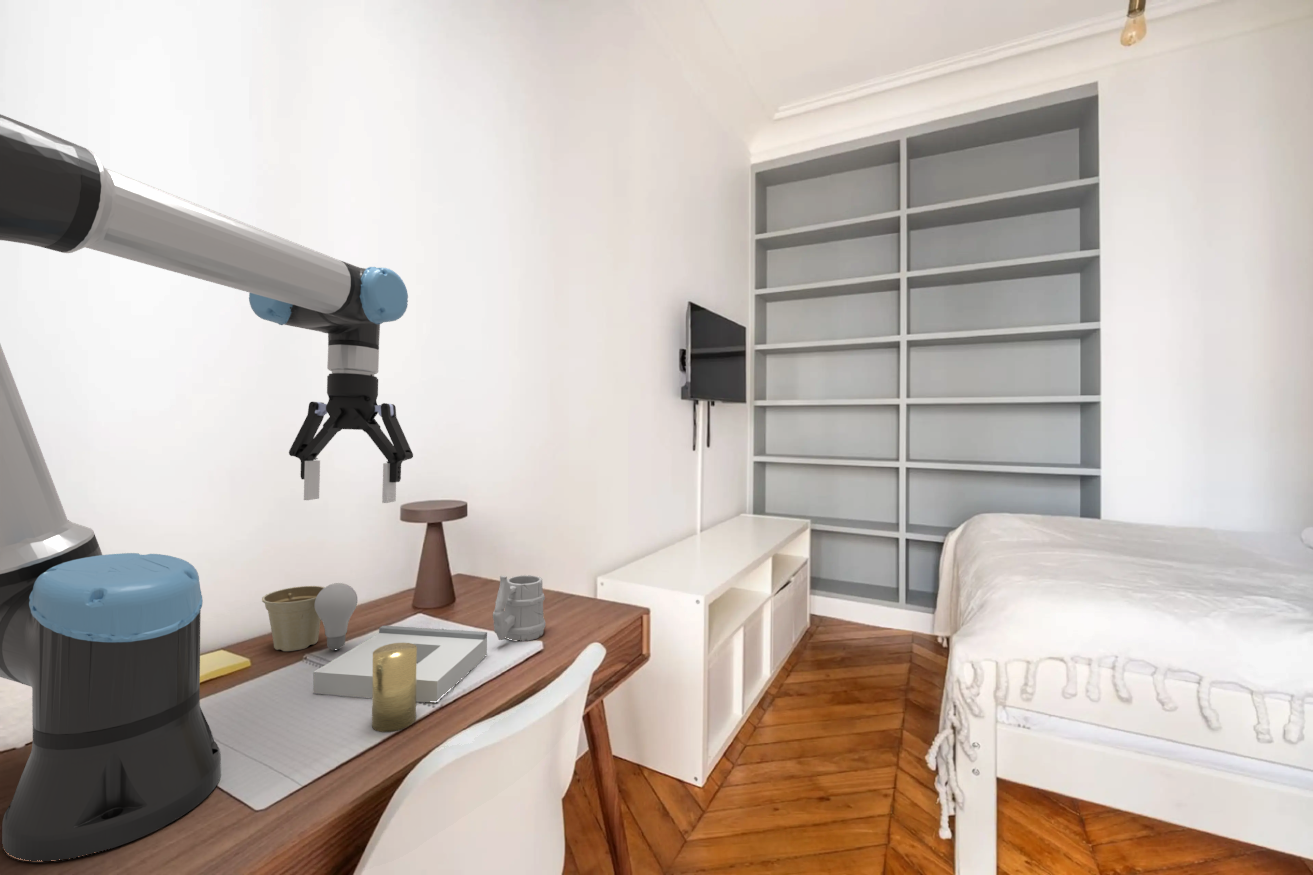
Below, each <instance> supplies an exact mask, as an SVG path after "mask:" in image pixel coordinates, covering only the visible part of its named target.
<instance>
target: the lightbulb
mask: <svg viewBox="0 0 1313 875" xmlns="http://www.w3.org/2000/svg"><path fill="white" fill-rule="evenodd" d="M324 587H325V588H323V589H322V590H321V591H320V592H319V594H318V595H317V597H316V600H315V610H316V612H317V614H318V616H319V617H320V619H321V623H322V624H323V627H324V635H325V636H326V645H327V649H329V650H332V651H333V650H335V649H339V650H340V649H341V648H343V647H344V646H345V644H346V633H347V632H348V627H349V626H348V625H349V622H350V619H351V617H352V615H353V614H354V612H355V610H356V607H357V605H358V594H357V592H356V590H355V589H354V588H353V587H352V586H350V584H346V583H343V582H335V583H332V584H329V585H327V586H324Z"/></svg>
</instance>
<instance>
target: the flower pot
mask: <svg viewBox="0 0 1313 875" xmlns="http://www.w3.org/2000/svg"><path fill="white" fill-rule="evenodd" d="M325 587H326V586H321V585H303V586H302V585H301V586H293V587H287V588H282V589H278V590H275V591H271V592H269V593H266V594H265V595H264V596H262V597H261V602H262V603H264V606H265V609H266V610H267V614H268V618H269V623H270V624H269V625H270V630H271V635H272V636H271V637H272V642H273V649H275V650H276V651H280V650H281V651H282V652H293V651H301V650H305V649H307V648H308V647H310V645H313V646H315V644H317V642H319V636H320V635H319V634H320V628H321V623H322V620H321V619H320V617H319V616H318V614H317V612H316V610H315V600H316V597H317V595H318V594H319V592H320V591H321V590H322V589H323V588H325Z"/></svg>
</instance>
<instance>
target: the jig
mask: <svg viewBox="0 0 1313 875" xmlns="http://www.w3.org/2000/svg"><path fill="white" fill-rule="evenodd" d="M393 643H411V644H414V645H416V647H417V668H416V703H425V702H430V701H437V700H438V699H439V698H440V697H441V696H442V695H443V694H445V693H446V692H447V691H448V690H449V689H450V688H452V687H453V686H454V685H455V684H456V683H457V682H458V681H460V680H461V678H463V677H464V676H465V675H466V674H467V673H468V672H469V671H470V670H471V671H472V670H473V669H475V667H476V666H477V665H478V664H480V662H482V661H483V659H484V658H485V657H484V656H485V655H488V632H487V631H475V630H460V629H445V628H431V627H430V628H429V627H428V628H427V627H412V626H396V625H381V626H379V628H378V633H376V634H374V636H371V637H370V638H368V639H366V640H365V641H362V643H360V644H358V645H356V646H354V647H353V648H352V649H349V650H348V651H346V652H345V653H343V654H341V655H340V656H338V657H336V658H335V659H333V660H331V661H330V662H327V663H326V664H324V665H323V666H321V667H319V668H318V669H316V670H314V671H313V673H312V674H313V681H312V684H313V685H312V686H313V687H312V692H313V693H312V694H316V695H327V696H328V695H329V696H338V697H340V696H341V697H350V698H351V697H354V698H366V699H372V679H373V652H374V651H375V650H376V649H377V648H379V647H382V646H385V645H388V644H393ZM483 657H484V658H483ZM471 671H470V672H471ZM470 672H469V673H470ZM469 673H468V674H469ZM468 674H467V675H468ZM467 675H466V676H467ZM466 676H465V677H466ZM465 677H464V678H465ZM464 678H463V679H464ZM461 681H462V680H461ZM461 681H460V682H461ZM454 687H455V686H454ZM454 687H453V688H454ZM453 688H452V689H453Z"/></svg>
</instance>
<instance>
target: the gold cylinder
mask: <svg viewBox="0 0 1313 875" xmlns="http://www.w3.org/2000/svg"><path fill="white" fill-rule="evenodd" d="M417 664H418V663H417V647H416V645H414V644H411V643H393V644H388V645H385V646H382V647H379V648H377V649H376V650H375V651H374V652H373V679H372V698H371V699H372V700H371V701H372V703H371V705H372V706H371V727H372V730H375V731H376V732H379V733H391V732H392V733H393V732H397V731H402V730H404V729H406V728H408V727H409V726H411V725H412V724H414V722H415V721H416V718H417V702H416V668H417Z"/></svg>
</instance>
